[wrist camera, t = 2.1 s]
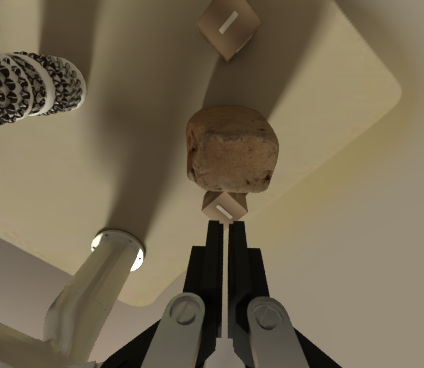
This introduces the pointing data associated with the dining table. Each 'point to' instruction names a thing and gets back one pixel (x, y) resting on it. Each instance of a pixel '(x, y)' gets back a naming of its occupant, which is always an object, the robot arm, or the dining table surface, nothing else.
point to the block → (231, 150)
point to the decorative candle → (38, 86)
